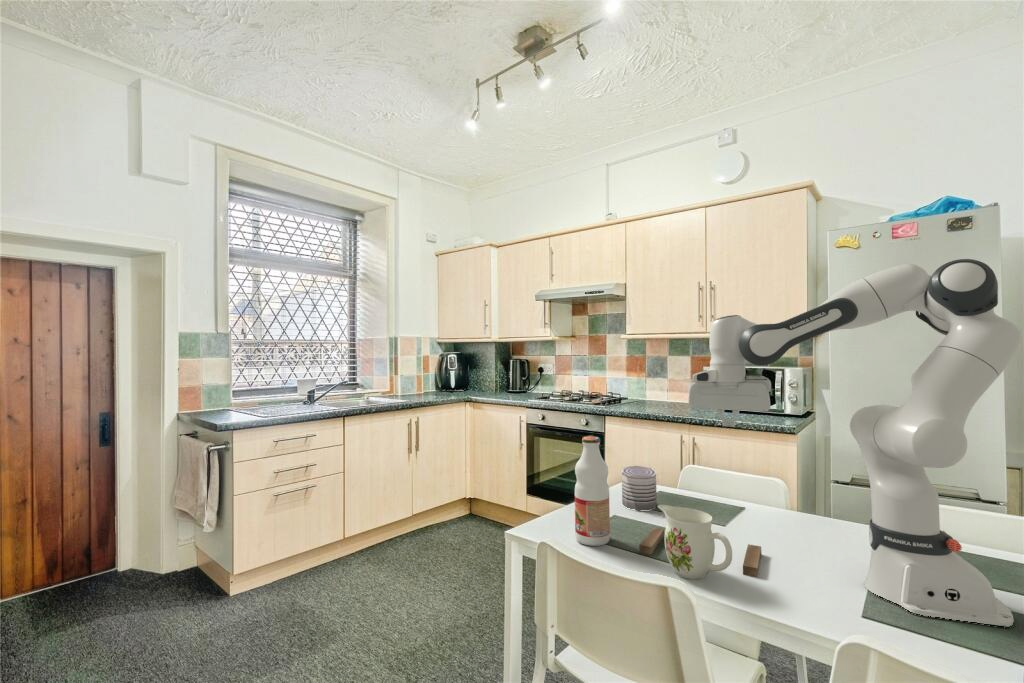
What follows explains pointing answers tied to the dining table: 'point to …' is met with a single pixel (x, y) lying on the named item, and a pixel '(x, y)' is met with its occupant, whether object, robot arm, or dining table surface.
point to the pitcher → (692, 542)
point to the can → (639, 488)
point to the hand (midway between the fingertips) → (728, 426)
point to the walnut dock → (750, 560)
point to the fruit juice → (592, 496)
